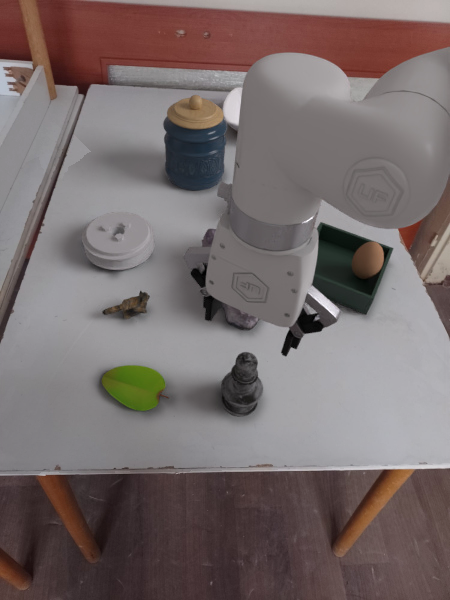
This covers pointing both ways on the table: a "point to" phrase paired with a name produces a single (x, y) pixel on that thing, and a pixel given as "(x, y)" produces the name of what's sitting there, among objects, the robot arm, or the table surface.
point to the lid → (118, 240)
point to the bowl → (232, 108)
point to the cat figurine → (130, 306)
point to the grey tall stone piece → (242, 386)
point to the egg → (368, 260)
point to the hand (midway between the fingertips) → (250, 329)
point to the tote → (344, 269)
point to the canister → (194, 143)
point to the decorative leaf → (135, 386)
